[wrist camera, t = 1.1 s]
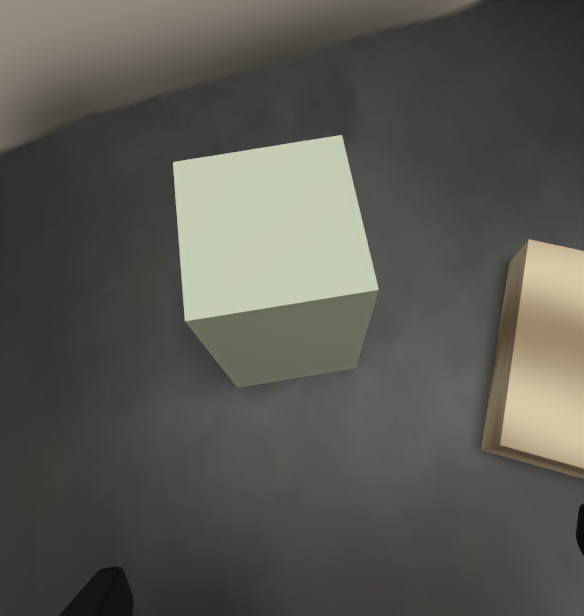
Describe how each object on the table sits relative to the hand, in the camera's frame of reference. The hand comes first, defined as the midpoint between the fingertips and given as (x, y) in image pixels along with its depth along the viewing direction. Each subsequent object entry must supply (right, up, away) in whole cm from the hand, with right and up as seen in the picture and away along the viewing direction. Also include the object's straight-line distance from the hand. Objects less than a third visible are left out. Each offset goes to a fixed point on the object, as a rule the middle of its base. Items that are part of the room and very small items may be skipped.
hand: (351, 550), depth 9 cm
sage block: (-1, +4, +16) cm, 16 cm away
